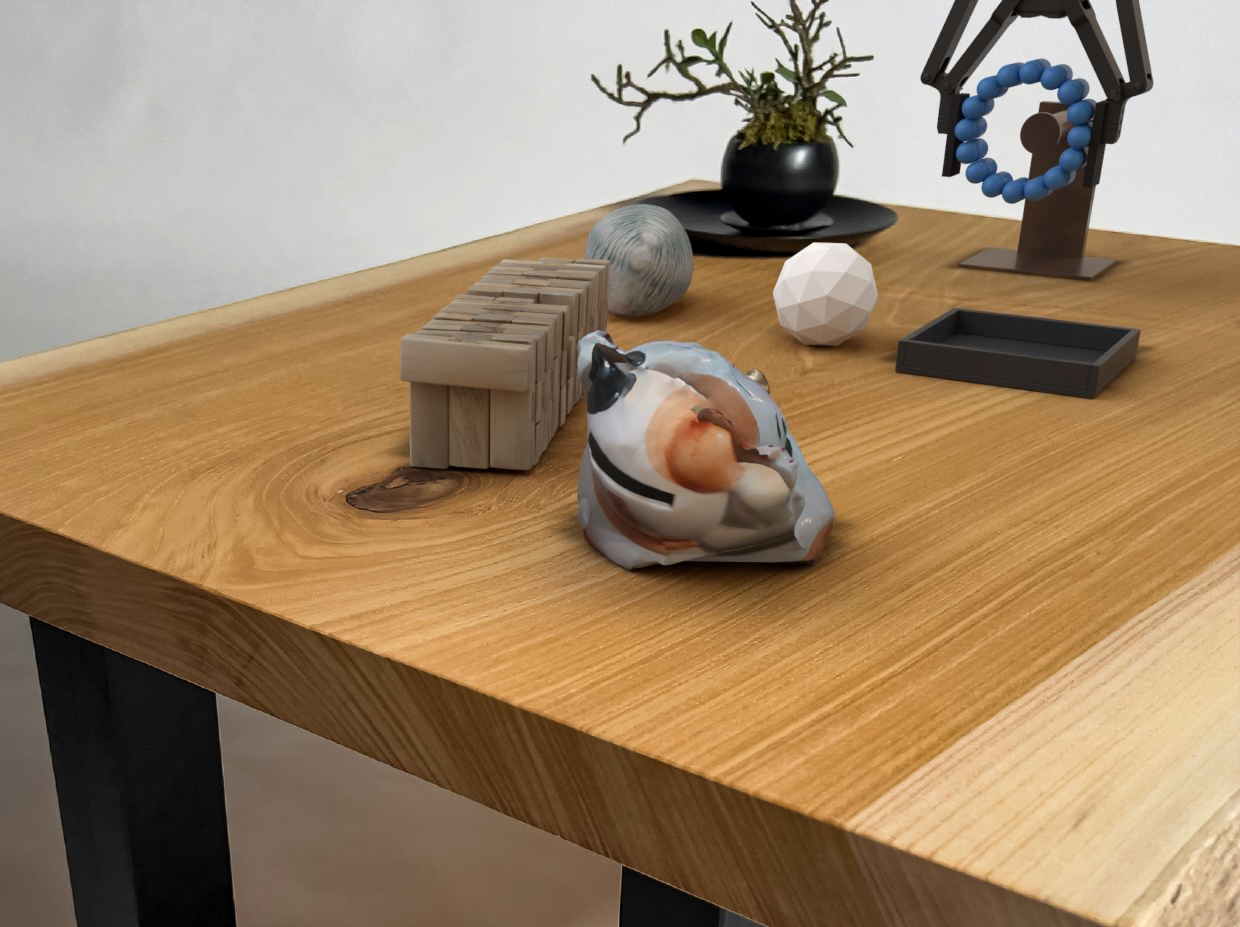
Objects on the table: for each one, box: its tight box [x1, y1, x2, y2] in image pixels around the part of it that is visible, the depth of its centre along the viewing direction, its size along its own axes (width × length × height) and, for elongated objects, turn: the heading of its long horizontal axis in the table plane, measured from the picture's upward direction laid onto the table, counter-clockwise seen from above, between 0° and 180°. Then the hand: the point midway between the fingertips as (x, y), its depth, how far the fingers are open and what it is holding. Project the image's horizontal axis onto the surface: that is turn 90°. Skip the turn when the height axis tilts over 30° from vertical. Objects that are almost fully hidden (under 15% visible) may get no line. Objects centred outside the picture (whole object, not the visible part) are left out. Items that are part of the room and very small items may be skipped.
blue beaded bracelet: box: [955, 57, 1098, 205], centre depth 135 cm, size 11×5×11 cm, turn 58°
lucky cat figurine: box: [576, 330, 835, 570], centre depth 80 cm, size 15×12×14 cm
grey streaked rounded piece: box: [584, 203, 694, 320], centre depth 135 cm, size 14×10×10 cm
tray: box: [894, 307, 1142, 400], centre depth 118 cm, size 14×13×2 cm
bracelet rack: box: [957, 100, 1117, 282], centre depth 146 cm, size 12×12×15 cm
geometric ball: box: [772, 242, 879, 347], centre depth 123 cm, size 8×8×8 cm
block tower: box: [399, 256, 611, 471], centre depth 105 cm, size 8×8×29 cm
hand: (1019, 180), depth 136 cm, fingers closed on blue beaded bracelet, 11 cm apart
